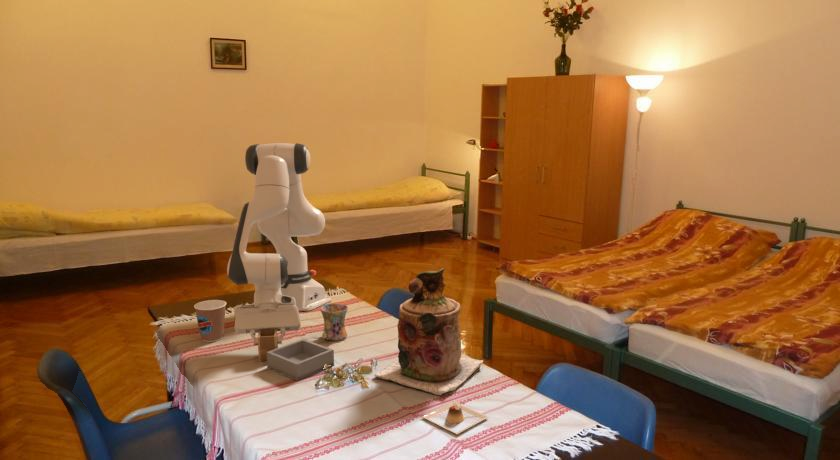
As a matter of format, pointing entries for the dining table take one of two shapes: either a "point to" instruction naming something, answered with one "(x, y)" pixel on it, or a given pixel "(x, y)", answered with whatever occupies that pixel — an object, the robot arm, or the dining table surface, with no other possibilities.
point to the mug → (334, 321)
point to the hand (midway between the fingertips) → (268, 343)
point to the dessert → (455, 414)
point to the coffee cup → (211, 319)
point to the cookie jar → (429, 340)
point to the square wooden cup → (266, 343)
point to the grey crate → (300, 359)
